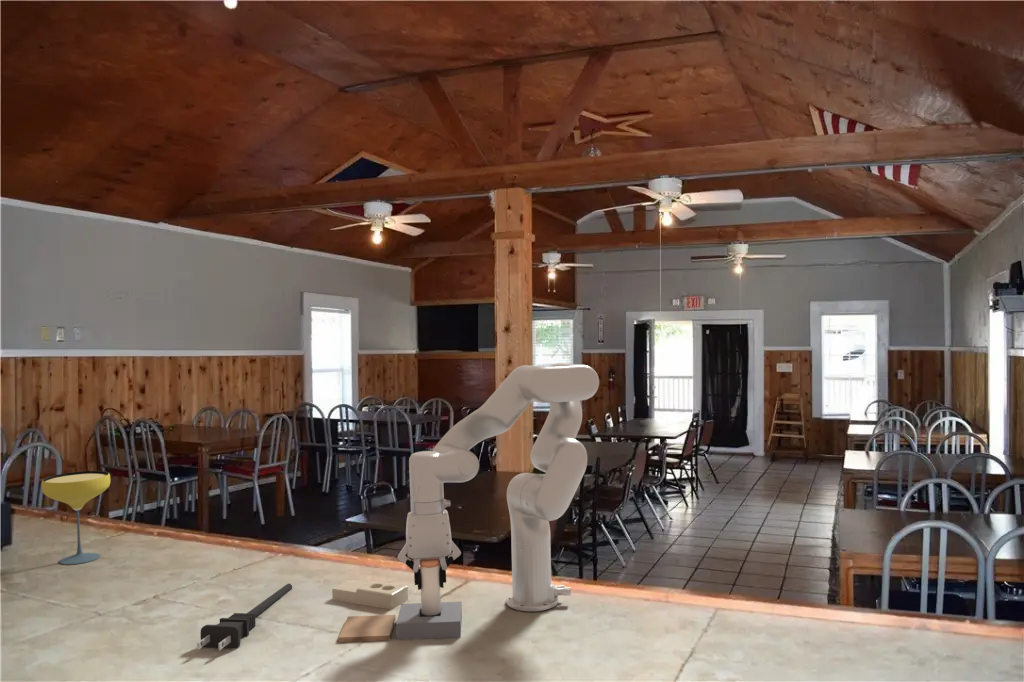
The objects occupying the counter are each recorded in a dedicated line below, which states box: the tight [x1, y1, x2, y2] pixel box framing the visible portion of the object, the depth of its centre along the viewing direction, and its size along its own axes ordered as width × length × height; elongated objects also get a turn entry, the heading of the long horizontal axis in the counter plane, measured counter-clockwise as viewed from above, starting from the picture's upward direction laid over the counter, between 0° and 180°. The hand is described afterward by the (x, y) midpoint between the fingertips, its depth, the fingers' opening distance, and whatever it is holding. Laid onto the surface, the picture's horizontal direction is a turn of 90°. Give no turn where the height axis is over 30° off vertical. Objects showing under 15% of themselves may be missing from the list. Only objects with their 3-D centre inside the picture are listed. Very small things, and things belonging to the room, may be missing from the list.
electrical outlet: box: [331, 579, 409, 610], centre depth 197 cm, size 7×4×18 cm
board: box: [338, 614, 396, 643], centre depth 178 cm, size 11×12×1 cm
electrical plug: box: [196, 583, 293, 651], centre depth 186 cm, size 9×42×5 cm, turn 173°
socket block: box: [395, 601, 463, 641], centre depth 178 cm, size 14×12×4 cm
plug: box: [419, 557, 442, 615], centre depth 178 cm, size 4×4×12 cm
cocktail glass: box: [41, 470, 111, 566], centre depth 236 cm, size 18×18×25 cm
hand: (430, 585), depth 178 cm, fingers closed on plug, 4 cm apart
